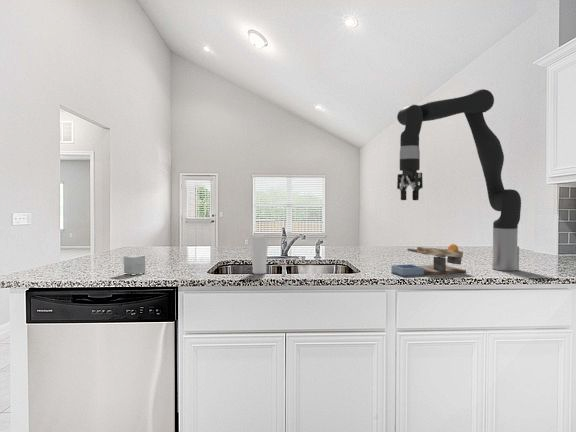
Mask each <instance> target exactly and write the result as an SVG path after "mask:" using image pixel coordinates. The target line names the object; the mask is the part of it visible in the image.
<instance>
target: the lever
mask: <svg viewBox="0 0 576 432" xmlns="http://www.w3.org/2000/svg"><path fill="white" fill-rule="evenodd" d="M406 250H407V251H409V252H412V253H417V254H422V255H428V256H433V257H442V258H446V257H447V258H446V263H448V264H452V265H460V266H461V264H462V259H463V258H464V251H462V250H458V251H451V250H448V248H447V249H446V248H437V247H435V248H434V247H423V246H417V248H407V249H406Z"/></svg>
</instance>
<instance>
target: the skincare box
mask: <svg viewBox="0 0 576 432" xmlns="http://www.w3.org/2000/svg"><path fill="white" fill-rule="evenodd" d="M146 272H147V271H146V256H145V255H140V254H139V255H138V254H132V255H125V256H123V274H124V273H127V274H140V273H145V274H146Z"/></svg>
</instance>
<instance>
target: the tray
mask: <svg viewBox="0 0 576 432" xmlns="http://www.w3.org/2000/svg"><path fill="white" fill-rule="evenodd" d="M420 266H421V265H415V264H411V263H410V264H391V273H392V274H394V275H397V276H400V277H416V276H417V277H419V276H418V275H421V276H425V275H424V268H423V267H420Z"/></svg>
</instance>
